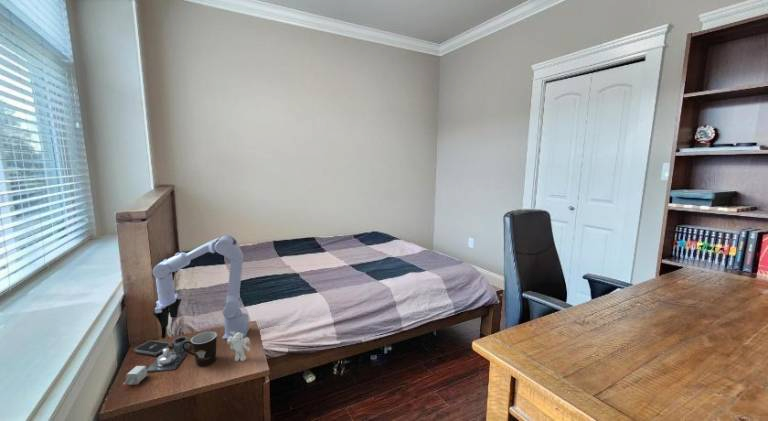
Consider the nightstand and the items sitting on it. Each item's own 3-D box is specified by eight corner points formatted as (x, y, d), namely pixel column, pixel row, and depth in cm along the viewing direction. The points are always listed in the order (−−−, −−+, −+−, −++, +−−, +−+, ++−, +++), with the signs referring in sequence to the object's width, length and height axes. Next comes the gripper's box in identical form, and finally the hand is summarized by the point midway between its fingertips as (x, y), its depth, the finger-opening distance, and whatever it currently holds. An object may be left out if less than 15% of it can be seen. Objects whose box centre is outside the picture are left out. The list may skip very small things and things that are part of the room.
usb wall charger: (147, 376, 115) (146, 365, 114) (133, 389, 108) (131, 378, 108) (136, 376, 115) (134, 366, 114) (120, 389, 108) (119, 379, 107)
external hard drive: (150, 344, 135) (149, 340, 135) (171, 348, 133) (171, 343, 133) (134, 354, 129) (133, 349, 128) (156, 357, 126) (156, 353, 126)
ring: (191, 344, 135) (190, 335, 134) (185, 352, 129) (184, 343, 128) (177, 345, 134) (176, 336, 133) (170, 353, 128) (169, 344, 128)
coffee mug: (224, 357, 126) (222, 333, 124) (205, 370, 118) (203, 345, 116) (201, 351, 129) (199, 328, 128) (182, 364, 121) (179, 340, 120)
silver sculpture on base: (187, 353, 128) (186, 340, 127) (175, 369, 118) (173, 355, 117) (160, 356, 127) (158, 343, 126) (145, 372, 117) (143, 358, 116)
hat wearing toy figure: (226, 361, 123) (224, 332, 121) (232, 355, 127) (230, 326, 125) (248, 363, 122) (246, 333, 120) (253, 357, 126) (251, 328, 124)
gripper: (164, 284, 139) (168, 314, 141) (144, 298, 125) (149, 331, 127) (182, 283, 140) (185, 312, 142) (164, 297, 126) (168, 329, 128)
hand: (169, 321), depth 135 cm, fingers open, 7 cm apart
